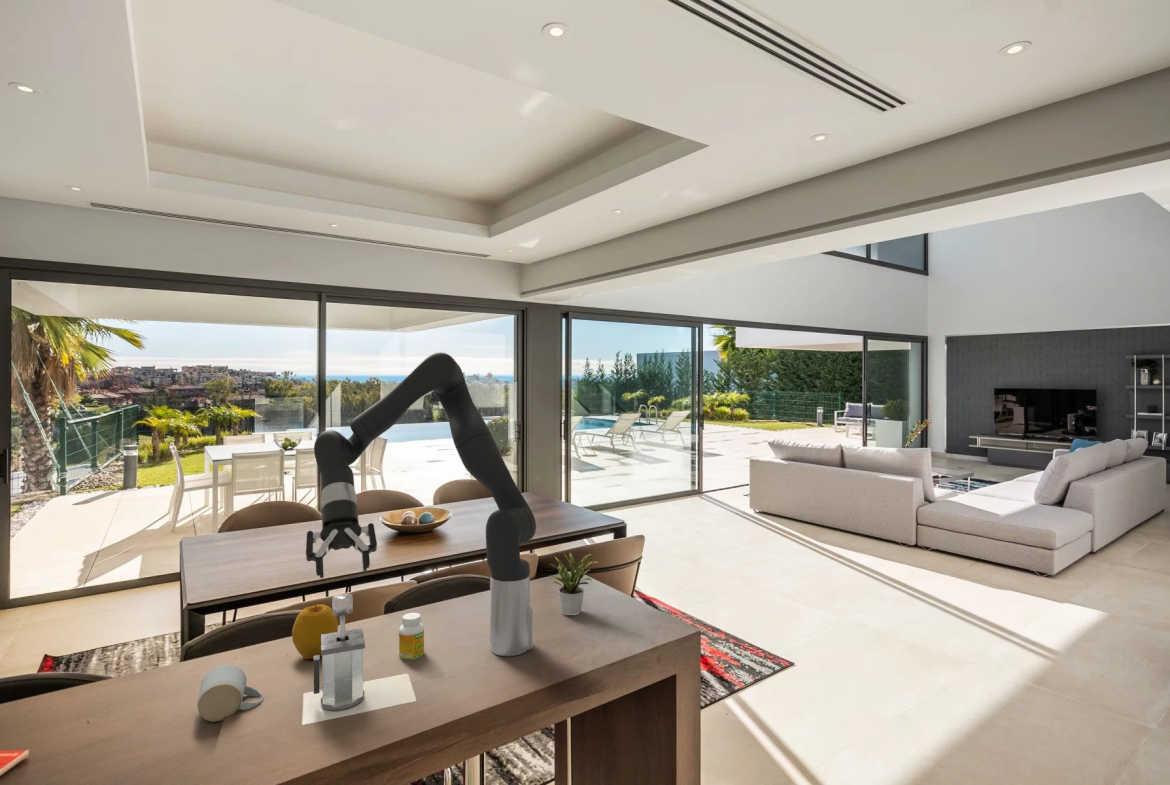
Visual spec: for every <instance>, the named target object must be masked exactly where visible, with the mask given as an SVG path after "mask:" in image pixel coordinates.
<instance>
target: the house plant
mask: <svg viewBox="0 0 1170 785" xmlns="http://www.w3.org/2000/svg"><path fill="white" fill-rule="evenodd" d="M562 553H563V555H564V557H565V558H566V559H567V561H568V565H569V572H570V573H569V572H568V570H567V567H566V566H565V564H564V563H563V562H562V561H561V560H560V559H559V558H558V557H556V556H554V558H555V560H556V561H557V563H558V566H557V567H556V566H555V565H554V564H552V563H550V565H551V566H553V567H555V568H556V569H557V570H558V573H556V575H557V576H556V575H551V577H552V578H554V579H556V580H558V581H559V582H558V581H552V582H551V584H555V585H556V584H557V585H559V586H561V587H559V588H558V597H559V603H560V610H561V614H562V613H564V614H577V613H580V612H581V613H582V606H583V599H584V593H585V588H583V587H582V586H580V585H590V583H589V582H587V581H590V582H591V583H593V582H592V578H590V577H585V578H583V577H584V576H585V575H586V574H587V573H588V572H589V571H590V569H587V570H586V568H587V567H588V566H589V565H591V564H594V563H596V564H597V561H593V560H590V561H588V562H587V563H584V562H585V561H586V560H587V558H588V557H589V556H591V555H592V553H590V554H587V555H585V556H584V557H583V558H582V559H581V560H580V561H579V562H578V563H577V566H576V563H575V558H574V556H573V555H572V553H571V552H569V555H568V554H567V555H566V554H565V552H562ZM583 565H584V566H583ZM575 566H576V567H575ZM575 568H576V569H575ZM558 575H559V576H560V577H558ZM560 582H561V583H562V584H561V583H560ZM581 613H580V614H581Z"/></svg>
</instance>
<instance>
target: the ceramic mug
mask: <svg viewBox="0 0 1170 785" xmlns="http://www.w3.org/2000/svg"><path fill="white" fill-rule="evenodd" d="M247 680H248V679H247V676H246V673H245V671H244V670H243V669H242V668H241V667H239V666H237V665H234V664H221V665H218V666H216V667H214V668H212V669H211V670H209V671H208V672H207V673H206V674H205V676H204V677H203V679H202V681H201V684H200V689H199V694H198V699H197V711H198V713H199V716H200V717H201V718H203V720H206V721H207V722H211V723H212V722H213V723H214V722H223V721H224V720H225V718H227V717H230V716H232V715H234V714H236V712H237V711H238V710H241V711H247V710H249V709H252V708H255V707H257V706H259V705H260V704H261V703H262V702H264V694H263V692H261V691H259V690H258V689H257V688H254V687H252V686H248V685H247V684H248V683H247ZM244 695H245V696H248V697H257V698H259V701H256V702H252V701H243V699H244Z"/></svg>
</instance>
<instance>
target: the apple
mask: <svg viewBox="0 0 1170 785" xmlns="http://www.w3.org/2000/svg"><path fill="white" fill-rule="evenodd" d="M334 632H339V623H338V618H337V616H335V615H333V614H332V607H330V606H328V605H326V604H323V603H321V604H320V603H319V604H315V605H311V606H310V605H309V606H307V607H304V608H303V609H301V611H299V614H298V615H297V616H296V618H295V621H294V623H293V626H292V630H291V636H292V643H293V644H294V647H295V649H296V650H297V652H298V653H299V654H300V656H301V657H302V658H303V659H305V660H311V659H312V660H314V656H316V655H319V658H320V657H322V656H321V634H328V633H334Z"/></svg>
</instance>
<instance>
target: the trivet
mask: <svg viewBox="0 0 1170 785" xmlns="http://www.w3.org/2000/svg"><path fill="white" fill-rule="evenodd" d="M363 690H364V700H363V701H362V702H361V703H360V704H359V705H357V706H355V707H353V708H351V709H348V710H344V711H327V710H324V709H323V708H322V707H321V698H322V689H320V693H317V694H314V690H313V691H309V692H304V693H303V694H302V719H301V725H302V726H305V725H309V724H311V725H312V724H315V723H319V722H325V721H330V720H333V719H339V718H343V717H348V716H352V715H353V716H354V715H358V714H361V713H366V712H367V713H368V712H372V711H376V710H381V709H386V708H391V707H395V706H401V705H405V704H410V703H414V702H417V698H416V693H415V691H414V688H413V685H412V682H411V679H410V676H409V673H408V672H407V673H403V674H398V675H391V676H388V677H381V678H377V679H371V680H366V681H363Z"/></svg>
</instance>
